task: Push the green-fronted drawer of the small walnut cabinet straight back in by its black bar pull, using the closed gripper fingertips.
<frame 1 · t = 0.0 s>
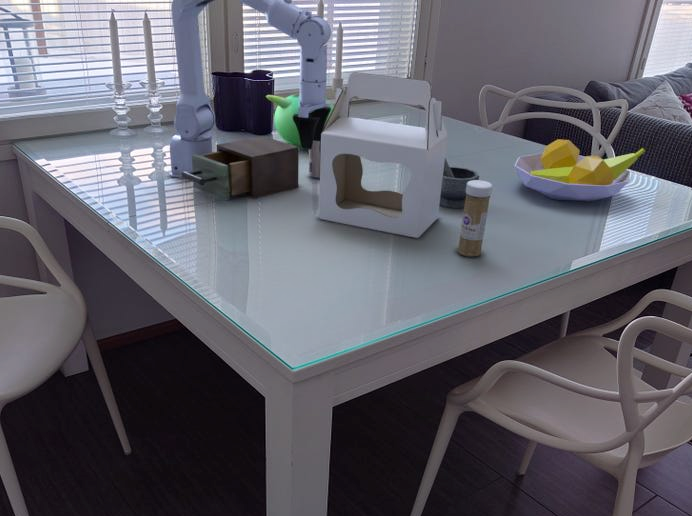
hand: (311, 144, 155), 10 cm above the table, tool pointing down, fingers open, 7 cm apart
green-fronted drawer: (222, 173, 152), point 5 cm above the table, slide at 6.0 cm
spice jar: (318, 177, 169), on the table
sprinkles bottle: (469, 254, 131), on the table
mortar and pestle: (449, 203, 156), on the table
gable box: (378, 219, 145), on the table
fruit bowl: (571, 194, 166), on the table
cabinet: (258, 185, 161), on the table
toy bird: (304, 147, 192), on the table
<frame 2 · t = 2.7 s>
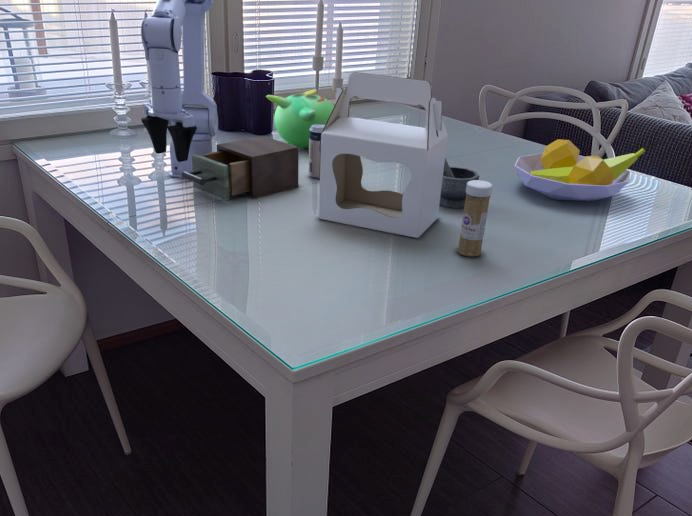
hand: (171, 156, 141), 10 cm above the table, tool pointing down, fingers open, 7 cm apart
nothing on the table moved.
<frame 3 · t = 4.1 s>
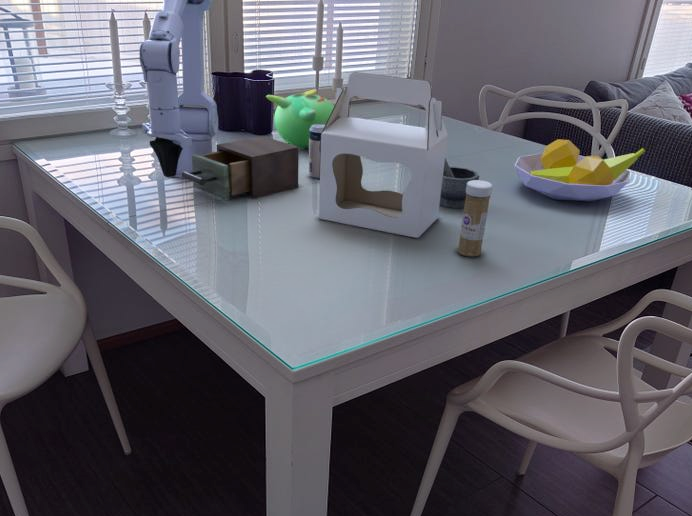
hand: (169, 175, 143), 7 cm above the table, tool pointing down, fingers closed
nothing on the table moved.
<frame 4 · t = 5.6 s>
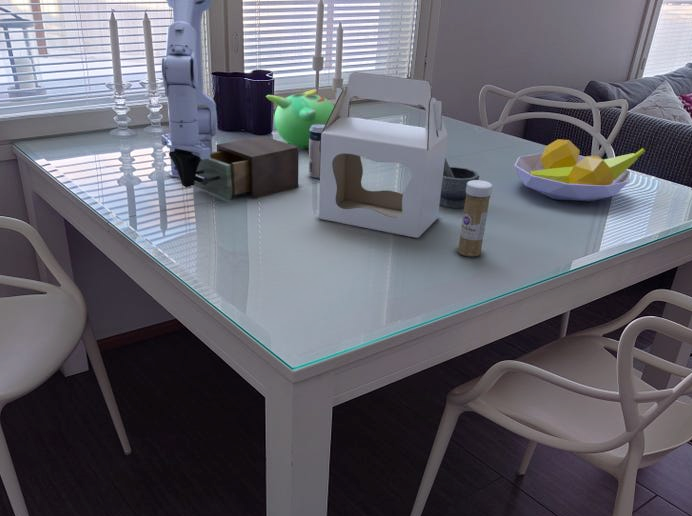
hand: (188, 185, 147), 4 cm above the table, tool pointing down, fingers closed, pressing on green-fronted drawer
green-fronted drawer: (225, 173, 153), point 5 cm above the table, slide at 5.3 cm, touching gripper
everything else where it was.
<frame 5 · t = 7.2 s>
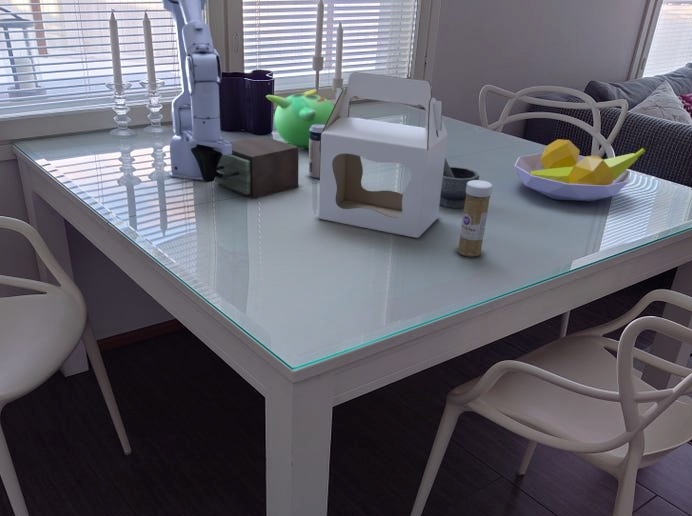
hand: (208, 181, 150), 4 cm above the table, tool pointing down, fingers closed, pressing on green-fronted drawer
green-fronted drawer: (244, 169, 156), point 5 cm above the table, slide at 0.0 cm, touching cabinet, gripper
everything else where it was.
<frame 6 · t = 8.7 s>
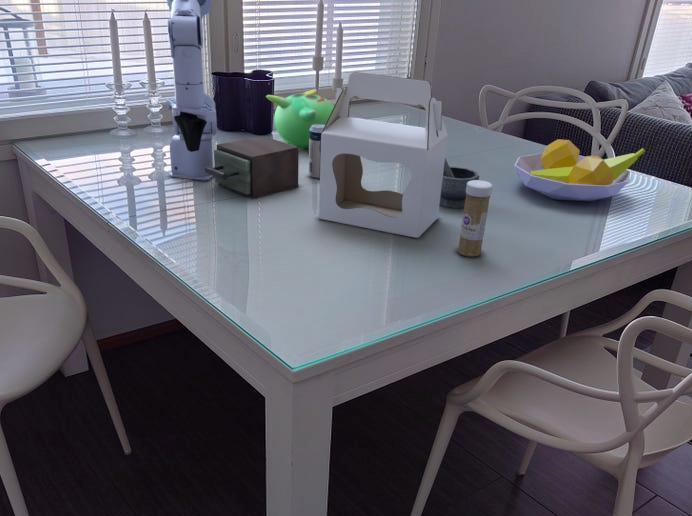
hand: (193, 150, 146), 10 cm above the table, tool pointing down, fingers closed
green-fronted drawer: (244, 169, 156), point 5 cm above the table, slide at 0.0 cm
everything else where it was.
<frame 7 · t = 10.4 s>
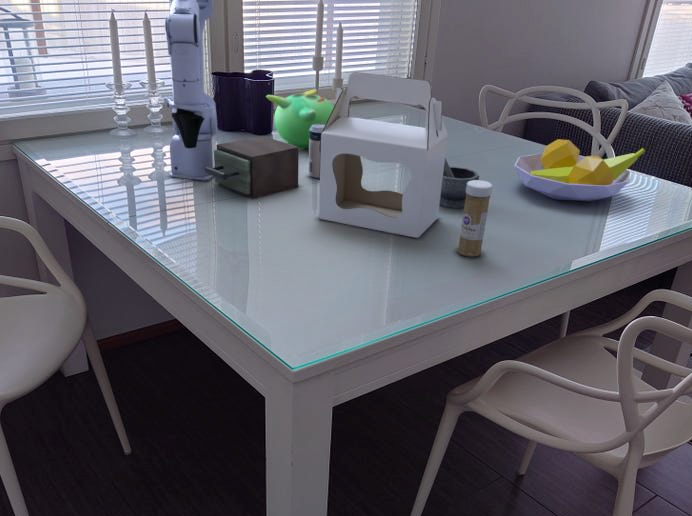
hand: (190, 147, 148), 10 cm above the table, tool pointing down, fingers closed
nothing on the table moved.
at the end: green-fronted drawer slide at 0.0 cm; spice jar moved 0.2 cm from its start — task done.
